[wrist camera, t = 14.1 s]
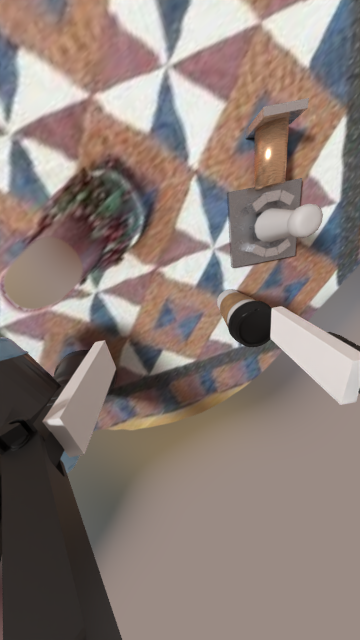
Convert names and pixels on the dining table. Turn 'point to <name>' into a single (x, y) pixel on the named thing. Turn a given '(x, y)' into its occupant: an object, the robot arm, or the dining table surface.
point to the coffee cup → (245, 318)
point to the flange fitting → (265, 187)
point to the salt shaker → (288, 222)
